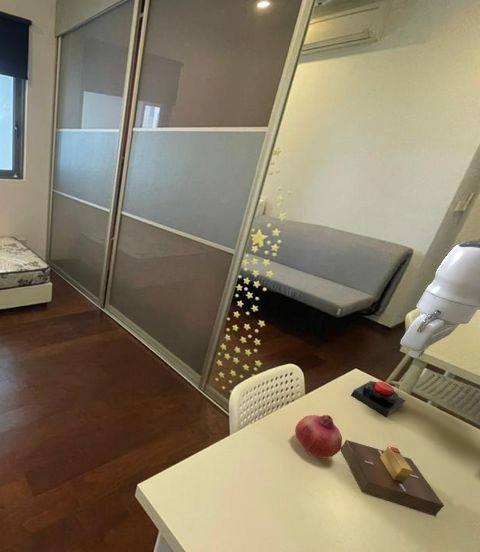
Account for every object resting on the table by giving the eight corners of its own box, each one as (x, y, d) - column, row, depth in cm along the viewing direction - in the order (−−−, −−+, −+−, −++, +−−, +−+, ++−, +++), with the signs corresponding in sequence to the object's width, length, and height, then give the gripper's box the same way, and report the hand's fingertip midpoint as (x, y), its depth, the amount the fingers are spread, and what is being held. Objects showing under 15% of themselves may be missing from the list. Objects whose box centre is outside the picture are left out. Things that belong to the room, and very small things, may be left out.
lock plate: (403, 467, 69) (411, 458, 67) (435, 515, 60) (444, 505, 59) (340, 448, 71) (346, 439, 70) (361, 491, 63) (369, 481, 61)
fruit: (340, 462, 68) (362, 429, 64) (313, 470, 66) (334, 436, 62) (307, 431, 75) (325, 399, 71) (281, 436, 73) (297, 404, 69)
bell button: (377, 384, 88) (380, 379, 87) (393, 393, 85) (396, 388, 85) (371, 388, 87) (374, 383, 86) (387, 397, 84) (390, 392, 83)
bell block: (367, 386, 93) (373, 375, 91) (401, 406, 87) (409, 395, 85) (350, 395, 88) (357, 384, 87) (385, 417, 82) (393, 406, 80)
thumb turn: (403, 482, 62) (413, 469, 60) (393, 479, 62) (403, 467, 61) (388, 460, 66) (397, 447, 65) (379, 457, 67) (388, 445, 65)
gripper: (447, 322, 67) (413, 374, 73) (478, 307, 76) (445, 354, 82) (409, 308, 72) (380, 357, 78) (442, 295, 81) (414, 340, 87)
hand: (414, 355), depth 80 cm, fingers closed
